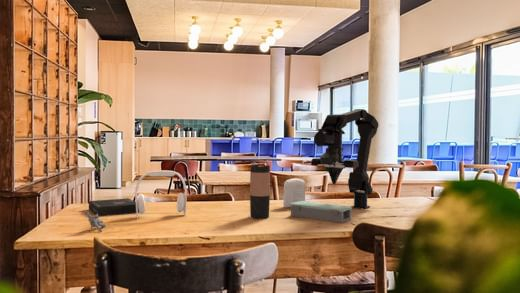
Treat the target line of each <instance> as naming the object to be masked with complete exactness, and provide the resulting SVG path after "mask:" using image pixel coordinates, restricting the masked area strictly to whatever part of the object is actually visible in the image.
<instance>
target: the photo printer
mask: <svg viewBox="0 0 520 293" xmlns="http://www.w3.org/2000/svg"><path fill="white" fill-rule="evenodd" d="M298 201H306V181H305V180H304V179H301V178H295V177H294V178H289V179H287V180H285V181H284V183H283V207H284V208H291V206H290V203H294V202H298Z"/></svg>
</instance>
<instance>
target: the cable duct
mask: <svg viewBox="0 0 520 293" xmlns="http://www.w3.org/2000/svg"><path fill="white" fill-rule="evenodd" d="M290 216H291V217H296V218H303V219H304V218H305V219H311V220H318V221H325V222H326V221H327V222H331V223H332V222H334V223H339V224H340V223H341V224H343V223H345V222H349V221H350V220H352V209H350V210H347V211H344V212H338V215H333V214H330V211H329V210H321V209H313V208H305V207H300V210H294V209H293V206H291V207H290Z"/></svg>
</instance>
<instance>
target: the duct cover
mask: <svg viewBox="0 0 520 293" xmlns="http://www.w3.org/2000/svg"><path fill="white" fill-rule="evenodd" d="M290 206H293V209H294V210H300V207H305V208H313V209H321V210H329V211H330V214H333V215H338V212H344V211H347V210H350V209H351V210H352V209H353V207H351V206H352V205H351V206H350V205H343V204H342V205H341V204H333V203H323V202H315V201H306V200H305V201H298V202H294V203H290Z"/></svg>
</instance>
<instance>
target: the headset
mask: <svg viewBox="0 0 520 293" xmlns="http://www.w3.org/2000/svg"><path fill="white" fill-rule="evenodd" d="M147 175H148V176H149V177H174V176H178V177H179V178H180V180H181V182H182V184H183V189H184V193H182V192H179V193H178V195H177V198H176V210H177V212H178V213H182V212H183V215H184V216H186V213H187V212H186V211H187V200H188V199H187V198H188V188H187V185H186V181H185V179H184V177H183V176H182V174H180V173H179V172H178V171H177V172H176V171H174V170H164V169H163V170H150V171H146V172H145V173H143V174H142V175H141V176H140V177H139V178H138V180H137V182H136V186H135V188H134V199H135V202H136V213H135V214H136V219H137V220H138V219H139V214H141V215H142V214H144V213H146V212H145V211H146V206H145V205H146V204H145V196H144V194H143V193H139V194H138V190H139V186H140V184H141V182H142V180H143V178H145V177H146V176H147ZM138 209H139V213H138Z"/></svg>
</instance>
